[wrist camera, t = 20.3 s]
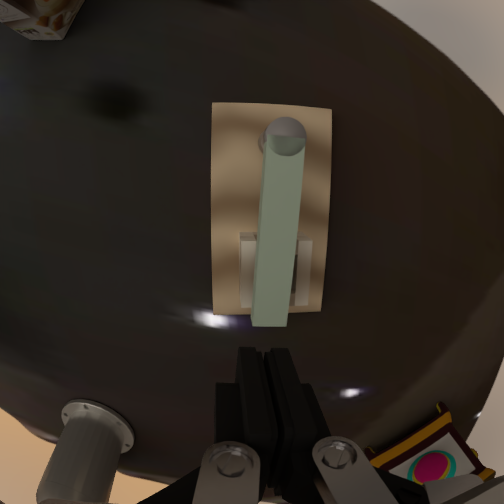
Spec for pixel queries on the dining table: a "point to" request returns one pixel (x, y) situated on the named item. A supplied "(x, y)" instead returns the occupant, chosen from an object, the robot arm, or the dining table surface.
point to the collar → (299, 271)
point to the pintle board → (248, 192)
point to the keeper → (278, 220)
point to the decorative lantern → (431, 453)
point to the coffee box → (39, 17)
